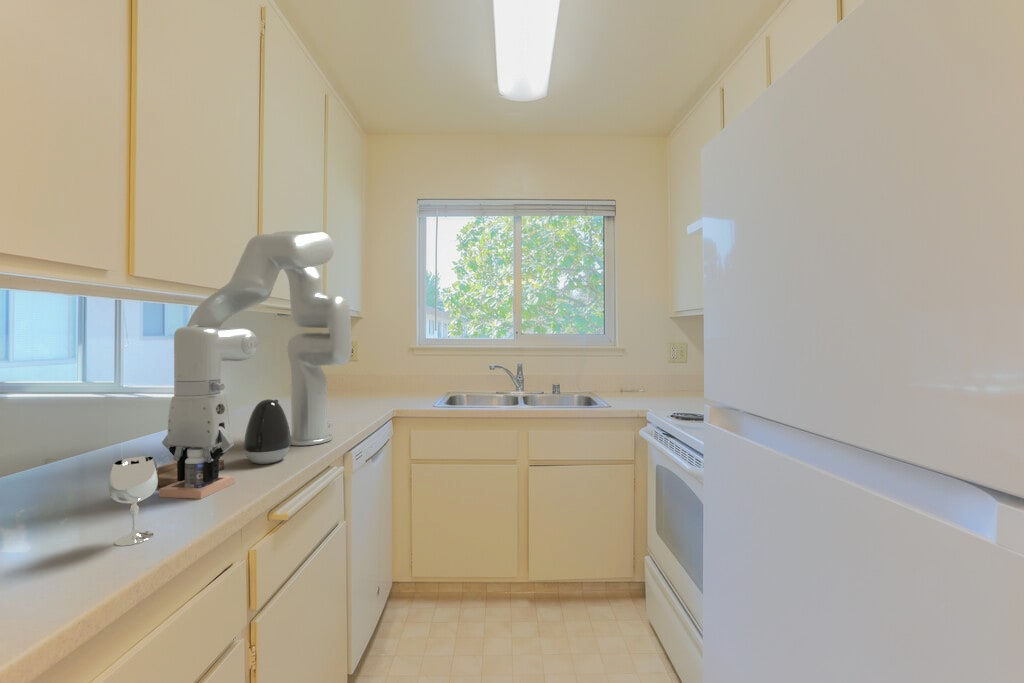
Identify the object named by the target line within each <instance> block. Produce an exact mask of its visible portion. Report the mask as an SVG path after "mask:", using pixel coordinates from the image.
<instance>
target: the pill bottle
mask: <svg viewBox="0 0 1024 683" xmlns="http://www.w3.org/2000/svg"><path fill="white" fill-rule="evenodd" d="M211 450H212V451H213V448H211ZM187 456H188V458H187V459H186V460H185V488H202V487H205V486H207V485H209V484H212V483H214V480H212V481H210V482H208V483H205V482H203V464H204V462H207V461H206V458H205V454H204V450H203V447H191V448H189V449H187Z"/></svg>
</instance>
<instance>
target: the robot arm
mask: <svg viewBox="0 0 1024 683" xmlns="http://www.w3.org/2000/svg"><path fill="white" fill-rule="evenodd" d="M334 251H335V246H334V241H333V239H332V238H331V236H330V235H329V234H327V232H324V231H322V230H321V231H320V230H318V231H317V230H307V231H306V230H301V231H298V230H293V231H292V230H290V231H289V230H288V231H287V230H286V231H285V230H284V231H277V232H273V233H262V234H261V233H260V234H257V235H254V236H252V237H251V238H250V239H249V240H248V242H247V244H246V247H245V248H244V250H243V253H242V254H241V257H240V258H239V261H238V263H237V266H236V268H235V270H234V271H233V274H232V276H231V278H230V280H229V281H228V283H226V284H225V285H224V286H222V287H221V288H219V289H218V290H216V291H215V292H214V293H213V294H211V295H210V296H208V297H207V298H206V299H204V300H203V301H202V302H201V303H200V304H199V305H198V307H196V308H195V310H194V311H193V312H192V315H191V317H190V318H189V321H188V322H187V324H186V326H184V327H179V328H177V329H176V330H175V332H174V334H173V366H174V367H173V395H174V396H171V401H170V405H169V411H168V417H167V435H166V436H165V437H164V439H163V440H162V441H161V444H162V446H163V447H165V448H166V449H167V450H168V451H169V452H170V454H171V455H172V456H173V460H174V462H175V461H177V481H183V480H185V460H186V459H187V458H188V456H187V449H189V448H191V447H203V450H204V454H205V458H206V461H207V462H204V464H203V482H205V483H208V482H210V481H212V480H215V479H217V478H218V476H220V474H219V472H220V470H219V460H221V459H222V458H223V455H224V454H225V453H227V451H229V450H230V449H231V448H232V447H234V446H235V442H234V440H233V438H231V427H230V426H231V425H230V415H229V414H230V413H229V408H228V402H227V399H226V395H225V394H222V393H221V392H222V391H224V390H225V387H226V386H225V384H224V383H221V382H222V381H221V378H222V375H221V374H222V373H221V372H222V371H221V367H222V365H221V363H222V362H243V361H244V362H245V361H246V360H249V359H251V358H252V357H254V355H255V354H256V353H257V351H258V349H259V339H258V337H257V335H256V334H255V333H254V332H253V331H252V330H250V329H249V328H246V327H241V326H222V325H223V324H224V323H225V322H226V321H227V320H228V319H229V318H231V317H233V316H234V315H235V314H238V313H240V312H242V311H244V310H248V309H250V308H253V307H255V306H257V305H260V304H263V303H264V302H266V301H267V300H268V299H270V297H271V294H272V291H273V289H274V286H275V284H276V282H277V279H278V277H279V274H280V272H281V271H282V270H283V271H284V272H285V274H286V276H287V280H288V286H289V288H288V289H289V299H290V312H291V314H290V315H291V320H292V322H293V324H294V325H296V326H297V327H300V328H309V329H310V328H311V329H314V328H315V329H320V328H321V329H328V332H320V331H317V332H315V331H308V332H307V331H306V332H299V333H296V334H294V335H293V336H291V337H290V338H289V340H288V342H287V346H286V348H287V350H286V351H287V356H288V360H289V365H290V366H289V367H290V368H289V369H290V379H291V380H290V381H291V382H290V383H291V384H290V385H291V386H290V388H291V389H290V392H291V393H290V394H291V395H290V398H291V399H290V401H291V402H290V403H291V404H290V405H291V407H290V408H291V412H290V414H291V415H290V420H291V422H290V425H291V428H290V435H291V445H290V446H314V445H319V444H325V443H328V442H330V441H332V440H333V438H334V437H333V436H334V435H333V433H331V432H328V429H330V428H332V427H333V422H332V421H328V377H327V375H326V373H325V372H324V370H323V368H322V367H321V366H344V365H346V364H348V362H349V361H350V360H351V357H352V352H353V345H352V344H353V339H352V322H351V321H352V320H351V318H352V316H351V310H350V305H349V303H348V301H347V300H346V298H345V297H343V296H341V295H337V294H324V292H323V283H322V282H323V281H322V276H321V274H320V272H319V270H318V269H317V268H316V267H317V266H319V265H320V266H321V265H325V264H327V263H328V262H330V261H331V259H332V258H333V255H334ZM220 444H221V445H220ZM211 448H212V450H211Z"/></svg>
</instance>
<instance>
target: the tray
mask: <svg viewBox="0 0 1024 683" xmlns="http://www.w3.org/2000/svg"><path fill="white" fill-rule="evenodd" d="M224 469H225V460H224V459H219V471H221V470H224ZM157 470H158V475H159V482H158V487H157V489H161V488H163V487H166V486H168V485H171V484H173V483H176V482H178V481H177V461H175V460H174V461H172V462H170V463H166V464H163V465H161V466H157Z"/></svg>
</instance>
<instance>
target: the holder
mask: <svg viewBox="0 0 1024 683" xmlns="http://www.w3.org/2000/svg"><path fill="white" fill-rule="evenodd" d="M233 484H235V476H234V475H219V476H218V478H217V479H215V480H214V483H212V484H209V485H207V486H205V487H202V488H185V480H183V481H178V482H176V483H173V484H171V485H168V486H166V487H163V488H158V497H159V498H174V499H175V498H178V499H197V500H198V499H199V500H201V499H204V498H205V497H208V496H210V495H213V494H214V493H216V492H218V491H219V492H220V491H221V490H223V489H225V488H228V487H229V486H231V485H233Z"/></svg>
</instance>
